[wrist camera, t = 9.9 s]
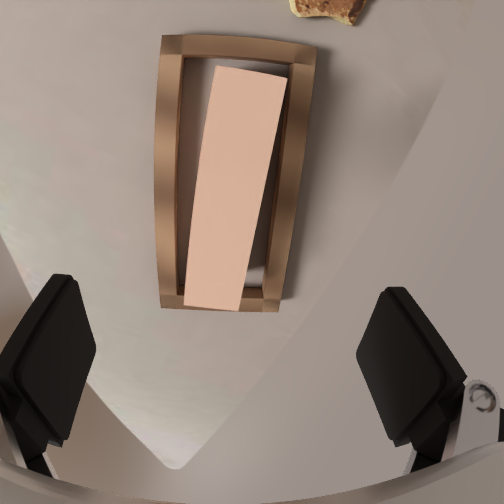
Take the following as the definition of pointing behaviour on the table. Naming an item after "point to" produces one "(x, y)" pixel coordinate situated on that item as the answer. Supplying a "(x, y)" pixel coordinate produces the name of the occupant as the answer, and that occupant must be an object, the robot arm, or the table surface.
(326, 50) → the table surface
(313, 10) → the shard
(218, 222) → the pink rectangular block
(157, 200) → the brown wooden frame
